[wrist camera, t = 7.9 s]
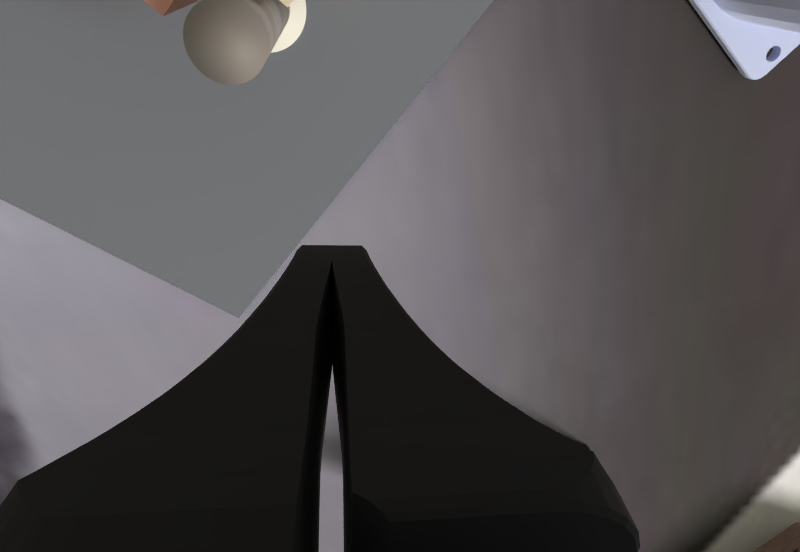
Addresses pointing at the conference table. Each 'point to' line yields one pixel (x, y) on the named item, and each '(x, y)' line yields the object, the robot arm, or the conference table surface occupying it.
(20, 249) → the conference table surface
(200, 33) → the fence base
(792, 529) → the tissue box cover
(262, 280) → the card
